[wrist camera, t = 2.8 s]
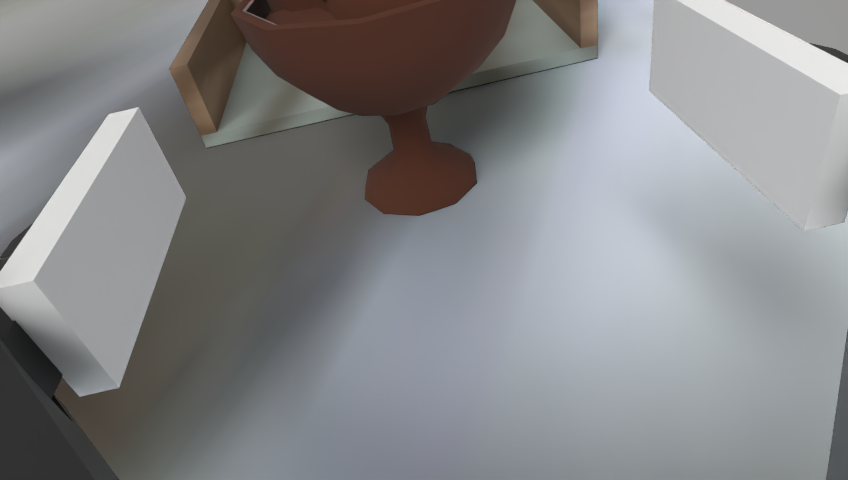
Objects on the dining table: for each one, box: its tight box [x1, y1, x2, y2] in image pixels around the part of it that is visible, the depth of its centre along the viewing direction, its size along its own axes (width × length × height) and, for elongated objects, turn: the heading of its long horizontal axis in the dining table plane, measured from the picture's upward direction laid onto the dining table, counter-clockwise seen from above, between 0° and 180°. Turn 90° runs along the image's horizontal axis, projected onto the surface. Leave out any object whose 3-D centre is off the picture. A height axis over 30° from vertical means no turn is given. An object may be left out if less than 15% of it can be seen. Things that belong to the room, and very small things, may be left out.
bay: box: [169, 0, 598, 148], centre depth 40 cm, size 24×17×5 cm
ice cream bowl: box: [231, 0, 516, 215], centre depth 24 cm, size 11×11×15 cm
